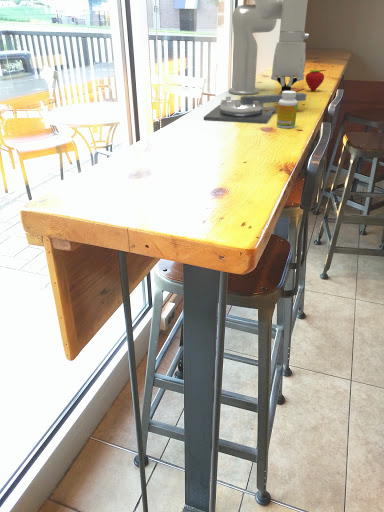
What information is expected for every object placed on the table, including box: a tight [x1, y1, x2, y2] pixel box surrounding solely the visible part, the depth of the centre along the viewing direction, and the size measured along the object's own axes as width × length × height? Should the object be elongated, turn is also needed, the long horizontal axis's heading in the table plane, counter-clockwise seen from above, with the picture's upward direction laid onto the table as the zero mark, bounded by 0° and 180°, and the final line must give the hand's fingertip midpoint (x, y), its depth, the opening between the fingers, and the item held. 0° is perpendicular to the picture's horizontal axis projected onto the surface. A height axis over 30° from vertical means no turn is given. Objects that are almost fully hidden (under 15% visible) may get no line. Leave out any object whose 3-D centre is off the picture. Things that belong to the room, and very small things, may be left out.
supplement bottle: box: [276, 90, 299, 129], centre depth 119 cm, size 5×5×10 cm
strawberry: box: [305, 67, 325, 92], centre depth 170 cm, size 6×8×10 cm
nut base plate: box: [203, 104, 277, 124], centre depth 135 cm, size 20×20×1 cm
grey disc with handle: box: [219, 92, 307, 116], centre depth 135 cm, size 29×14×4 cm, turn 103°
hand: (285, 98), depth 139 cm, fingers closed
